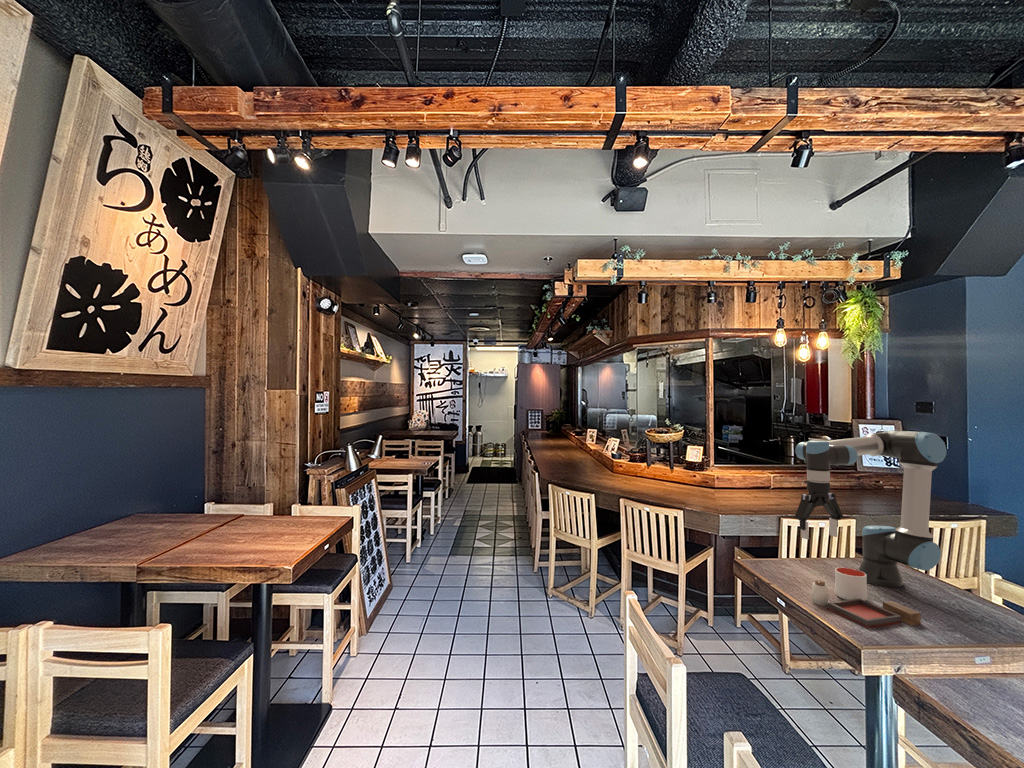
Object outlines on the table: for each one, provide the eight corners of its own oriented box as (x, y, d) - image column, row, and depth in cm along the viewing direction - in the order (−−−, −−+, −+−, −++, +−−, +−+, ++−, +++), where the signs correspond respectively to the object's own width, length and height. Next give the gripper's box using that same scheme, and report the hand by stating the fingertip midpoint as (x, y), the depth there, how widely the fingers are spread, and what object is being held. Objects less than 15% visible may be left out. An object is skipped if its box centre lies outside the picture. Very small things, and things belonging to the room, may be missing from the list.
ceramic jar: (819, 599, 182) (819, 578, 183) (831, 605, 178) (831, 583, 178) (809, 601, 181) (809, 579, 181) (820, 606, 176) (820, 584, 177)
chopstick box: (891, 612, 172) (891, 601, 173) (920, 624, 163) (920, 613, 163) (882, 613, 172) (882, 601, 172) (911, 625, 162) (910, 614, 162)
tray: (859, 605, 178) (859, 598, 178) (901, 623, 163) (901, 616, 163) (827, 609, 174) (827, 602, 174) (867, 628, 159) (867, 620, 160)
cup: (872, 604, 178) (872, 577, 179) (842, 602, 180) (842, 575, 181) (858, 594, 188) (858, 568, 189) (830, 591, 190) (830, 566, 191)
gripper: (835, 478, 188) (836, 532, 187) (783, 480, 181) (784, 536, 181) (853, 481, 180) (854, 537, 180) (799, 484, 174) (800, 542, 173)
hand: (819, 537), depth 180 cm, fingers open, 13 cm apart
